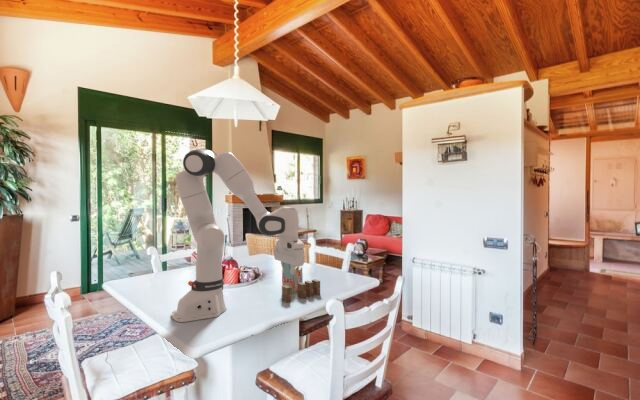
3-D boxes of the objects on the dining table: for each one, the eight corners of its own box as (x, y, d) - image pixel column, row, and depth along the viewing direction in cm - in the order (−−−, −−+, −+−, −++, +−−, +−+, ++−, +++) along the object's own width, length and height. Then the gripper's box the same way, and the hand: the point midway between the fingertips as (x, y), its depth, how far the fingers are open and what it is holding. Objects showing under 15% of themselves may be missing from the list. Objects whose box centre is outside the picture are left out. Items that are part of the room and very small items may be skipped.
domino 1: (286, 302, 156) (286, 288, 156) (282, 300, 159) (282, 286, 159) (290, 301, 157) (290, 287, 157) (285, 299, 161) (285, 285, 161)
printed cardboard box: (292, 282, 191) (292, 261, 191) (302, 282, 190) (302, 261, 190) (282, 293, 170) (281, 270, 170) (293, 294, 169) (293, 270, 169)
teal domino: (288, 279, 145) (289, 263, 145) (283, 277, 149) (283, 261, 149) (292, 278, 147) (293, 263, 146) (287, 276, 150) (287, 261, 150)
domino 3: (309, 297, 164) (309, 283, 164) (304, 294, 168) (304, 281, 167) (313, 296, 165) (313, 282, 165) (308, 294, 169) (308, 280, 169)
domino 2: (302, 298, 161) (302, 284, 161) (297, 296, 165) (297, 282, 165) (305, 298, 163) (305, 284, 162) (301, 295, 166) (300, 282, 166)
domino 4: (316, 295, 167) (316, 281, 167) (311, 293, 170) (311, 279, 170) (320, 294, 168) (320, 281, 168) (315, 292, 172) (315, 279, 171)
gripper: (271, 240, 154) (270, 269, 154) (294, 245, 137) (294, 278, 138) (282, 239, 157) (282, 267, 158) (307, 244, 141) (306, 276, 142)
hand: (288, 272), depth 148 cm, fingers closed on teal domino, 4 cm apart
